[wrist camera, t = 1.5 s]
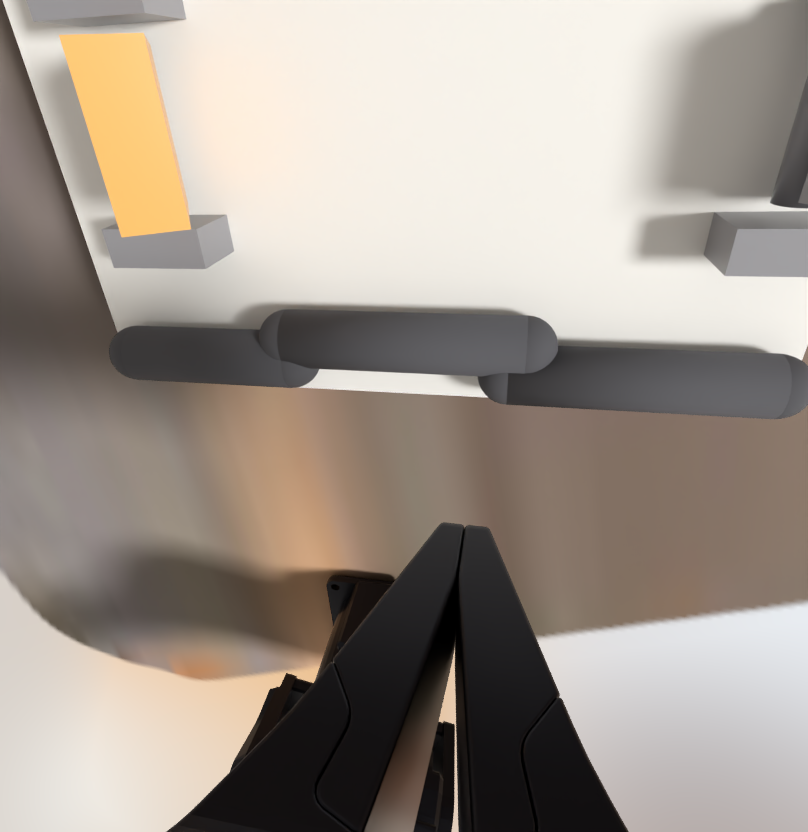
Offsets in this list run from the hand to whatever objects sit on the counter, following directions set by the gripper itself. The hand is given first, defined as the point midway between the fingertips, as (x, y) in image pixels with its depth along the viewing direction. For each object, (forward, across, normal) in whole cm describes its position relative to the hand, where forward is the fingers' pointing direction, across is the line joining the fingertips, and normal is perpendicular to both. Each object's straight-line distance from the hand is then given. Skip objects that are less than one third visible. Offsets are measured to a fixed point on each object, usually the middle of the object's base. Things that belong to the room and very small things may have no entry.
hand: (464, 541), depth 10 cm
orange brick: (+9, +10, -6) cm, 15 cm away
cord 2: (+10, +2, +1) cm, 11 cm away
